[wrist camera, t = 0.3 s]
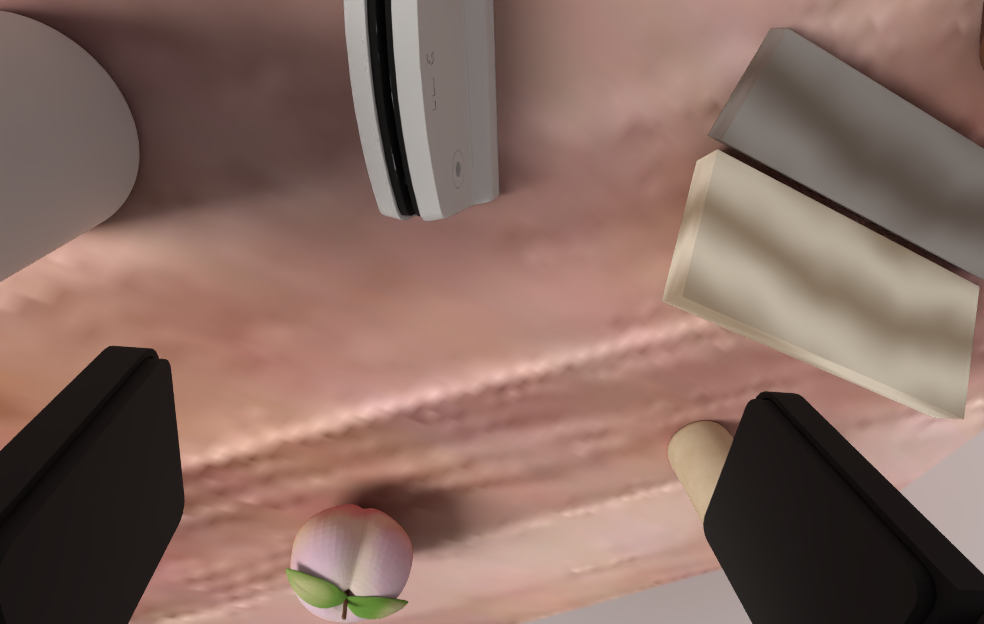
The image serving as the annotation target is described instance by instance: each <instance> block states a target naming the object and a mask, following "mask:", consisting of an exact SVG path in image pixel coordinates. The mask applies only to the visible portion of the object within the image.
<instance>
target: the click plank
mask: <svg viewBox="0 0 984 624" xmlns="http://www.w3.org/2000/svg"><path fill="white" fill-rule="evenodd" d="M978 295H979V286H977V285H975V284H973V283H971V282H970V281H968V280H966V279H964V278H962V277H960V276H958V275H956V274H954V273H952V272H950V271H949V270H947V269H945V268H943V267H941V266H939V265H937V264H935V263H933V262H931V261H929V260H928V259H926V258H924V257H922V256H920V255H918V254H916V253H914V252H912V251H910V250H909V249H907V248H905V247H903V246H901V245H899V244H897V243H895V242H893V241H891V240H889V239H888V238H886V237H884V236H882V235H880V234H878V233H876V232H874V231H872V230H870V229H868V228H867V227H865V226H863V225H861V224H859V223H857V222H855V221H853V220H851V219H849V218H848V217H846V216H844V215H842V214H840V213H838V212H836V211H834V210H832V209H830V208H828V207H827V206H825V205H823V204H821V203H819V202H817V201H815V200H813V199H811V198H809V197H807V196H806V195H804V194H802V193H800V192H798V191H796V190H794V189H792V188H790V187H788V186H787V185H785V184H783V183H781V182H779V181H777V180H775V179H773V178H771V177H769V176H767V175H766V174H764V173H762V172H760V171H758V170H756V169H754V168H752V167H750V166H748V165H746V164H745V163H743V162H741V161H739V160H737V159H735V158H733V157H731V156H729V155H727V154H726V153H724V152H722V151H720V150H718V149H717V150H715V151H713V152H712V153H710V154H708V155H706V156H705V157H703V158H701V159H699V160H698V161H697V162H696V166H695V170H694V174H693V178H692V182H691V186H690V190H689V194H688V198H687V202H686V206H685V210H684V214H683V218H682V222H681V226H680V231H679V235H678V239H677V243H676V247H675V251H674V255H673V259H672V263H671V267H670V271H669V275H668V279H667V283H666V287H665V291H664V295H663V299H662V302H665V303H667V304H669V305H672V306H674V307H676V308H679V309H681V310H683V311H686V312H688V313H690V314H693V315H695V316H697V317H700V318H702V319H704V320H707V321H709V322H711V323H714V324H716V325H718V326H721V327H723V328H726V329H728V330H730V331H733V332H735V333H737V334H740V335H742V336H744V337H747V338H749V339H751V340H754V341H756V342H758V343H761V344H763V345H765V346H768V347H770V348H772V349H775V350H777V351H779V352H782V353H784V354H786V355H789V356H791V357H793V358H796V359H798V360H800V361H803V362H805V363H807V364H810V365H812V366H814V367H817V368H819V369H821V370H824V371H826V372H828V373H831V374H833V375H835V376H838V377H840V378H842V379H845V380H847V381H850V382H852V383H854V384H857V385H859V386H861V387H864V388H866V389H868V390H871V391H873V392H875V393H878V394H880V395H882V396H885V397H887V398H889V399H892V400H894V401H896V402H899V403H901V404H903V405H906V406H908V407H910V408H913V409H915V410H917V411H920V412H922V413H924V414H927V415H929V416H931V417H934V418H952V419H964V414H965V405H966V397H967V389H968V380H969V372H970V363H971V355H972V346H973V338H974V329H975V321H976V312H977V304H978Z"/></svg>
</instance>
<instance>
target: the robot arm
mask: <svg viewBox="0 0 984 624" xmlns="http://www.w3.org/2000/svg"><path fill="white" fill-rule="evenodd" d="M183 509H184V488H183V479H182V469H181V460H180V450H179V441H178V431H177V421H176V412H175V402H174V393H173V383H172V374H171V367H170V363H169V361H168V360H166V359H159V357H158V355H157V353H156V351H155V350H154V349H151V348H136V347H122V346H109V347H107V348H106V349H104V350H103V351H102V352H101V353H100V354H99V355H98V356H97V357H96V358H95V359H94V360H93V361H92V362H91V363H90V364H89V365H88V366H87V367H86V368H85V369H84V370H83V371H82V372H81V373H80V374H79V375H78V376H77V377H76V378H75V379H74V380H73V381H72V382H71V383H70V384H69V385H67V386H66V387H65V388H64V389H63V390H62V391H61V392H60V393H59V394H58V395H57V396H56V397H55V398H54V399H53V400H52V401H51V402H50V403H49V404H48V405H47V406H46V407H45V408H44V409H43V410H42V411H41V412H40V413H39V414H38V415H37V416H36V417H35V418H34V419H33V420H32V421H31V422H30V423H28V424H27V425H26V426H25V427H24V428H23V429H22V430H21V431H20V432H19V433H18V434H17V435H16V436H15V437H14V438H13V439H12V440H11V441H10V442H9V443H8V444H7V445H6V446H5V447H4V448H3V449H2V450H1V451H0V624H128V623H129V621H130V619H131V617H132V615H133V613H134V611H135V609H136V607H137V605H138V603H139V601H140V599H141V597H142V595H143V593H144V591H145V589H146V587H147V585H148V583H149V581H150V579H151V578H152V576H153V574H154V572H155V570H156V568H157V566H158V564H159V562H160V560H161V558H162V556H163V554H164V552H165V550H166V548H167V546H168V544H169V542H170V540H171V538H172V536H173V534H174V533H175V531H176V529H177V527H178V525H179V522H180V520H181V517H182V514H183ZM703 526H704V533H705V536H706V539H707V541H708V543H709V545H710V546H711V548H712V550H713V552H714V554H715V556H716V557H717V559H718V561H719V563H720V565H721V567H722V568H723V570H724V572H725V574H726V576H727V577H728V580H729V581H730V583H731V585H732V587H733V589H734V590H735V592H736V594H737V596H738V598H739V600H740V601H741V603H742V605H743V607H744V609H745V611H746V612H747V614H748V616H749V618H750V620H751V622H752V624H984V575H983V573H981V572H980V571H979V570H978V569H977V568H976V567H975V566H974V565H973V564H972V563H971V562H970V561H969V560H968V559H967V558H966V557H965V556H964V555H963V554H962V553H961V552H960V551H959V550H958V549H957V548H956V547H955V546H954V545H953V544H952V543H951V542H950V541H949V540H948V539H947V538H946V537H945V536H944V535H943V534H942V533H941V532H939V530H938V529H937V528H935V526H934V525H933V524H931V522H930V521H929V520H927V519H926V518H925V517H924V516H923V515H922V514H921V513H920V512H919V511H918V510H917V509H916V508H915V507H914V506H913V505H912V504H911V503H910V502H909V501H908V500H907V499H906V498H905V497H904V496H903V495H902V494H901V493H900V492H899V491H898V490H897V489H896V488H895V487H894V486H893V485H892V484H891V483H890V482H889V481H888V480H887V479H886V478H885V477H884V476H883V475H882V474H881V473H880V472H879V471H878V470H877V469H876V468H874V467H873V466H872V465H871V464H870V463H869V462H868V461H867V460H866V459H865V458H864V457H863V456H862V455H861V454H860V453H859V452H858V451H857V450H856V449H855V448H854V447H853V446H852V445H851V444H850V443H849V442H848V441H847V440H846V439H845V438H844V437H843V436H842V435H841V434H840V433H839V432H838V431H837V430H836V429H835V428H834V427H833V426H832V425H831V424H830V423H829V422H828V421H827V420H826V419H825V418H824V417H823V416H822V415H820V414H819V413H818V412H817V411H816V410H815V409H814V408H813V407H812V406H811V405H810V404H809V403H808V402H807V401H806V400H805V399H804V398H803V397H802V396H800V395H799V394H794V393H782V392H767V391H765V392H762V393H760V394H759V395H758V396H757V397H756V399H753V400H750V401H749V402H748V404H747V406H746V408H745V410H744V413H743V416H742V418H741V421H740V423H739V426H738V429H737V431H736V434H735V437H734V439H733V442H732V445H731V447H730V450H729V453H728V455H727V458H726V460H725V463H724V466H723V468H722V471H721V474H720V476H719V479H718V482H717V484H716V487H715V490H714V492H713V495H712V497H711V500H710V503H709V505H708V508H707V511H706V513H705V516H704V523H703Z"/></svg>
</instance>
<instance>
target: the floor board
mask: <svg viewBox="0 0 984 624" xmlns="http://www.w3.org/2000/svg"><path fill="white" fill-rule="evenodd" d="M708 136H710V137H711V138H713V139H715V140H717V141H719V142H721V143H723V144H725V145H727V146H728V147H730V148H732V149H734V150H736V151H738V152H740V153H742V154H744V155H745V156H747V157H749V158H751V159H753V160H755V161H757V162H759V163H761V164H762V165H764V166H766V167H768V168H770V169H772V170H774V171H776V172H778V173H779V174H781V175H783V176H785V177H787V178H789V179H791V180H793V181H795V182H796V183H798V184H800V185H802V186H804V187H806V188H808V189H810V190H812V191H813V192H815V193H817V194H819V195H821V196H823V197H825V198H827V199H829V200H830V201H832V202H834V203H836V204H838V205H840V206H842V207H844V208H846V209H847V210H849V211H851V212H853V213H855V214H857V215H859V216H861V217H863V218H864V219H866V220H868V221H870V222H872V223H874V224H876V225H878V226H880V227H881V228H883V229H885V230H887V231H889V232H891V233H893V234H895V235H897V236H898V237H900V238H902V239H904V240H906V241H908V242H910V243H912V244H914V245H915V246H917V247H919V248H921V249H923V250H925V251H927V252H929V253H931V254H932V255H934V256H936V257H938V258H940V259H942V260H944V261H946V262H948V263H949V264H951V265H953V266H955V267H957V268H959V269H961V270H963V271H965V272H967V273H970V274H972V275H974V276H976V277H978V278H981V279H984V148H982V147H980V146H979V145H977V144H976V143H974V142H972V141H971V140H969V139H967V138H966V137H964V136H963V135H961V134H959V133H958V132H956V131H954V130H953V129H951V128H950V127H948V126H946V125H945V124H943V123H941V122H940V121H938V120H937V119H935V118H933V117H932V116H930V115H928V114H927V113H925V112H924V111H922V110H920V109H919V108H917V107H915V106H914V105H912V104H911V103H909V102H907V101H906V100H904V99H902V98H901V97H899V96H898V95H896V94H894V93H893V92H891V91H889V90H888V89H886V88H885V87H883V86H881V85H880V84H878V83H876V82H875V81H873V80H872V79H870V78H868V77H867V76H865V75H863V74H862V73H860V72H859V71H857V70H855V69H854V68H852V67H850V66H849V65H847V64H846V63H844V62H842V61H841V60H839V59H837V58H836V57H834V56H833V55H831V54H829V53H828V52H826V51H824V50H823V49H821V48H820V47H818V46H816V45H815V44H813V43H811V42H810V41H808V40H807V39H805V38H803V37H802V36H800V35H798V34H797V33H795V32H794V31H792V30H790V29H789V28H771V29H770V31H769V32H768V34H767V36H766V37H765V39H764V41H763V43H762V44H761V46H760V48H759V49H758V51H757V53H756V54H755V56H754V58H753V59H752V61H751V63H750V65H749V66H748V68H747V70H746V71H745V73H744V75H743V76H742V78H741V80H740V81H739V83H738V85H737V87H736V88H735V90H734V92H733V93H732V95H731V97H730V98H729V100H728V102H727V103H726V105H725V107H724V109H723V110H722V112H721V114H720V115H719V117H718V119H717V120H716V122H715V124H714V126H713V127H712V129H711V131H710V132H709V134H708Z"/></svg>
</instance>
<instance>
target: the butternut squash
mask: <svg viewBox="0 0 984 624" xmlns="http://www.w3.org/2000/svg"><path fill="white" fill-rule="evenodd" d="M980 61H981V65H982V67H983V69H984V3H983V13H982V24H981V34H980Z"/></svg>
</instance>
